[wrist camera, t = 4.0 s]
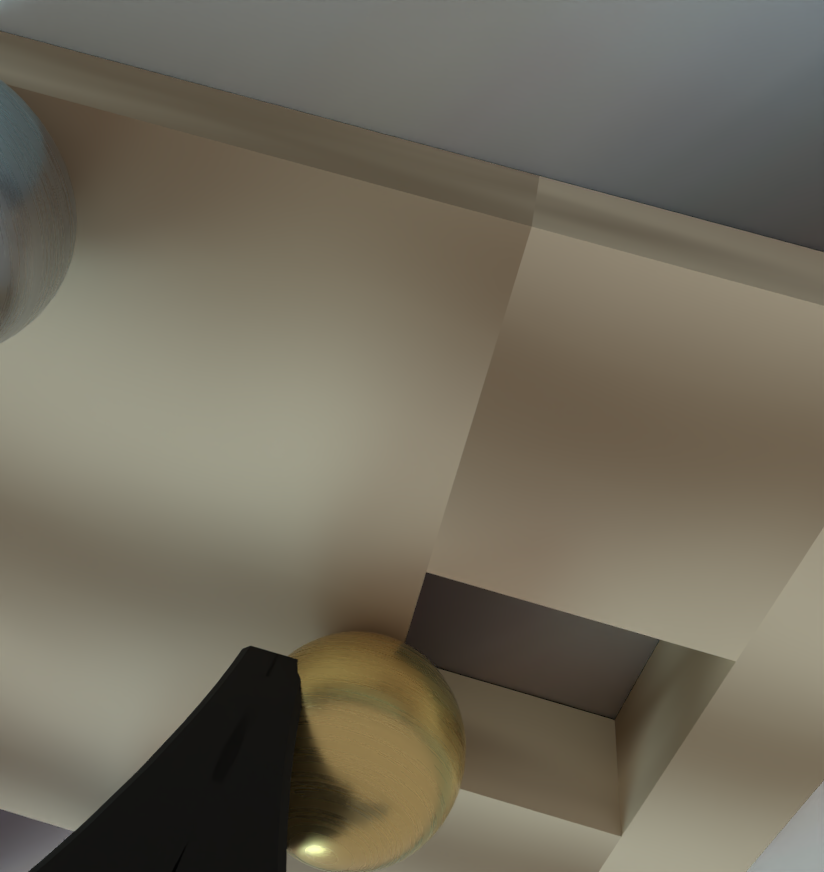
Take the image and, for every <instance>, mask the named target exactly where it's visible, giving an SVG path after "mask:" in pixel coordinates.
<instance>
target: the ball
mask: <svg viewBox="0 0 824 872" xmlns="http://www.w3.org/2000/svg"><path fill="white" fill-rule="evenodd" d="M288 657H292V658H295V659H298V662H297V663H298V674H299V676H300V679H301V703H302V709H301V713H300V718H299V724H298V729H297V736H296V742H295V749H294V756H293V765H292V774H291V787H290V801H289V815H288V832H287V854H289V855H290V856H292V857H294V858H295V859H297V860H299V861H300V862H302V863H304V864H306V865H308V866H311V867H313V868H316V869H319V870H323V871H327V872H373V871H378V870H381V869H384V868H387V867H389V866H392V865H394V864H397V863H399V862H400V861H402V860H404V859H406V858H407V857H409V856H410V855H412V854H414V853H415V852H416V851H417V850H419V849H420V848H421V847H422V846H423V845H424V844H426V843H427V842H428V841H429V840H430V839H431V838H432V836H433V835H434V834H435V833H436V832H437V830H438V829H439V828H440V827H441V826H442V824H443V823H444V821H445V820H446V818H447V816H448V814H449V813H450V811H451V809H452V807H453V805H454V803H455V801H456V798H457V796H458V793H459V790H460V786H461V782H462V778H463V774H464V770H465V760H466V737H465V730H464V725H463V720H462V715H461V712H460V709H459V707H458V704H457V701H456V699H455V696H454V694H453V692H452V690H451V689H450V687H449V685H448V683H447V682H446V680H445V678H444V677H443V676H442V674H441V673H440V672H439V671H438V670H437V668H436V667H435V666H434V665H433V664H432V663H431V662H430V661H429V660H428V659H427V658H426V657H425V656H423V655H422V654H421V653H420V652H418V651H417V650H415V649H414V648H412V647H410V646H409V645H407V644H405V643H403V642H401V641H399V640H397V639H395V638H392V637H389V636H386V635H382V634H378V633H372V632H361V631H348V632H340V633H335V634H331V635H327V636H323V637H320V638H318V639H315V640H313V641H311V642H309V643H307V644H304V645H303V646H301V647H300V648H298V649H296V650H295V651H294V652H292V653H291V654H289V655H288Z"/></svg>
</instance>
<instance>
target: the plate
mask: <svg viewBox="0 0 824 872" xmlns="http://www.w3.org/2000/svg"><path fill="white" fill-rule="evenodd" d="M0 80H2V81H3V82H4V83H5V84H7V85H8V86H9V87H10V88H11V89H12V90H13V91H14V92H16V93H17V94H18V95H19V96H20V97H21V98H22V99H23V100H24V101H25V102H26V104H27V105H28V106H29V107H30V108H31V109H32V111H33V112H34V113H35V114H36V115H37V117H38V118H39V119H40V121H41V122H42V124H43V125H44V126H45V128H46V129H47V131H48V132H49V134H50V135H51V137H52V139H53V140H54V142H55V144H56V146H57V148H58V149H59V151H60V154H61V156H62V158H63V160H64V163H65V165H66V168H67V171H68V174H69V177H70V180H71V184H72V188H73V193H74V198H75V203H76V214H77V229H76V240H75V246H74V251H73V256H72V260H71V263H70V266H69V269H68V271H67V274H66V276H65V278H64V280H63V282H62V284H61V286H60V288H59V290H58V291H57V293H56V295H55V296H54V298H53V299H52V300H51V301H50V303H49V304H48V305H47V306H46V308H45V309H44V310H43V311H42V312H41V314H40V315H39V316H38V317H37V318H36V319H35V320H33V321H32V322H31V323H30V324H29V325H27V326H26V327H25V328H24V329H23V330H21V331H20V332H19V333H18V334H16V335H14V336H12V337H11V338H9V339H7V340H6V341H4V342H2V343H0V809H2V810H5V811H9V812H12V813H15V814H18V815H22V816H25V817H28V818H32V819H35V820H38V821H41V822H45V823H48V824H51V825H55V826H58V827H61V828H64V829H68V830H71V831H75V830H76V829H78V828H79V827H80V826H81V825H82V824H83V823H84V822H85V821H86V820H87V819H88V818H89V817H90V816H91V815H92V814H94V813H95V812H96V811H97V810H98V809H99V808H100V807H101V806H102V805H103V804H104V803H105V802H106V801H107V800H108V799H109V798H110V797H111V796H112V795H113V794H114V793H115V792H116V791H117V790H118V789H119V788H121V787H122V786H123V785H124V784H125V783H126V782H127V781H128V780H129V779H130V778H131V777H132V776H133V775H134V774H135V773H136V772H137V771H138V770H139V769H140V768H141V767H142V766H143V765H144V764H145V763H146V762H147V761H148V759H149V758H150V757H151V756H152V755H153V754H154V753H155V752H156V751H157V750H158V749H159V748H160V747H161V746H162V745H163V743H164V742H165V741H166V740H167V739H168V738H169V737H170V736H171V735H172V734H173V733H174V732H175V731H176V730H177V729H178V727H179V726H180V725H181V724H182V723H183V722H184V721H185V720H186V719H187V717H188V716H189V715H190V714H191V713H192V712H193V711H194V709H195V708H196V707H197V706H198V705H199V704H200V702H201V701H202V700H203V699H204V698H205V697H206V695H207V694H208V693H209V692H210V691H211V689H212V688H213V687H214V686H215V685H216V683H217V682H218V681H219V680H220V678H221V677H222V676H223V674H224V673H225V672H226V670H227V669H228V668H229V667H230V665H231V664H232V663H233V661H234V660H235V658H236V657H237V655H238V654H239V653H240V651H241V650H242V649H243V648H246V647H248V646H254V647H257V648H261V649H264V650H268V651H271V652H274V653H278V654H281V655H285V656H288V655H289V654H291V653H292V652H294V651H295V650H296V649H298V648H300V647H301V646H303V645H304V644H307V643H309V642H311V641H313V640H315V639H318V638H320V637H323V636H327V635H331V634H335V633H340V632H348V631H361V632H372V633H378V634H382V635H386V636H389V637H392V638H395V639H397V640H399V641H401V642H403V643H405V640H406V636H407V633H408V630H409V627H410V623H411V620H412V617H413V614H414V610H415V607H416V604H417V600H418V597H419V594H420V591H421V587H422V584H423V581H424V578H425V574H426V572H428V573H431V574H435V575H438V576H441V577H445V578H448V579H452V580H455V581H459V582H462V583H466V584H469V585H473V586H476V587H480V588H483V589H487V590H490V591H493V592H497V593H500V594H504V595H507V596H511V597H514V598H518V599H521V600H525V601H528V602H532V603H535V604H539V605H542V606H545V607H549V608H552V609H556V610H559V611H563V612H566V613H570V614H573V615H577V616H580V617H584V618H587V619H591V620H594V621H598V622H601V623H604V624H608V625H611V626H615V627H618V628H622V629H625V630H629V631H632V632H636V633H639V634H643V635H646V636H650V637H653V638H656V639H660V640H659V642H658V644H657V646H656V647H655V649H654V651H653V653H652V655H651V656H650V658H649V660H648V662H647V663H646V665H645V667H644V669H643V671H642V672H641V674H640V676H639V678H638V680H637V681H636V683H635V685H634V687H633V688H632V690H631V692H630V694H629V696H628V697H627V699H626V701H625V703H624V704H623V706H622V708H621V710H620V712H619V713H618V715H617V717H616V719H615V720H613V719H609V718H606V717H602V716H599V715H595V714H592V713H589V712H585V711H582V710H578V709H575V708H572V707H568V706H565V705H561V704H558V703H554V702H551V701H548V700H544V699H541V698H537V697H534V696H530V695H527V694H524V693H520V692H517V691H513V690H510V689H507V688H503V687H500V686H496V685H493V684H489V683H486V682H483V681H479V680H476V679H472V678H469V677H466V676H462V675H459V674H455V673H452V672H448V671H445V670H442V669H438V668H437V670H438V671H439V672H440V673H441V674H442V676H443V677H444V678H445V680H446V682H447V683H448V685H449V687H450V689H451V690H452V692H453V694H454V696H455V699H456V701H457V704H458V707H459V709H460V712H461V715H462V720H463V725H464V730H465V737H466V760H465V770H464V774H463V778H462V782H461V786H460V790H459V793H458V796H457V798H456V801H455V803H454V805H453V807H452V809H451V811H450V813H449V814H448V816H447V818H446V820H445V821H444V823H443V824H442V826H441V827H440V828H439V829H438V830H437V832H436V833H435V834H434V835H433V836H432V838H431V839H430V840H429V841H428V842H427V843H426V844H424V845H423V846H422V847H421V848H420V849H419V850H417V851H416V852H415V853H414V854H412V855H410V856H409V857H407V858H406V859H404V860H402V861H400V862H399V863H397V864H394V865H392V866H389V867H387V868H384V869H381V870H378V871H373V872H746V871H747V870H748V869H749V868H750V867H751V865H752V864H753V863H754V862H755V861H756V860H757V858H758V857H759V856H760V855H761V854H762V853H763V851H764V850H765V849H766V848H767V847H768V845H769V844H770V843H771V842H772V841H773V840H774V838H775V837H776V836H777V835H778V834H779V832H780V831H781V830H782V829H783V828H784V827H785V825H786V824H787V823H788V822H789V821H790V819H791V818H792V817H793V816H794V815H795V814H796V812H797V811H798V810H799V809H800V808H801V806H802V805H803V804H804V803H805V802H806V801H807V799H808V798H809V797H810V796H811V795H812V793H813V792H814V791H815V790H816V789H817V788H818V786H819V785H820V784H821V783H822V782H823V780H824V252H821V251H817V250H814V249H810V248H806V247H802V246H799V245H795V244H791V243H787V242H784V241H780V240H776V239H773V238H769V237H765V236H761V235H758V234H754V233H750V232H747V231H743V230H739V229H735V228H732V227H728V226H724V225H720V224H717V223H713V222H709V221H706V220H702V219H698V218H694V217H691V216H687V215H683V214H680V213H676V212H672V211H668V210H665V209H661V208H657V207H654V206H650V205H646V204H642V203H639V202H635V201H631V200H627V199H624V198H620V197H616V196H613V195H609V194H605V193H601V192H598V191H594V190H590V189H587V188H583V187H579V186H575V185H572V184H568V183H564V182H560V181H557V180H553V179H549V178H546V177H542V176H538V175H534V174H531V173H527V172H523V171H520V170H516V169H512V168H508V167H505V166H501V165H497V164H493V163H490V162H486V161H482V160H479V159H475V158H471V157H467V156H464V155H460V154H456V153H453V152H449V151H445V150H441V149H438V148H434V147H430V146H426V145H423V144H419V143H415V142H412V141H408V140H404V139H400V138H397V137H393V136H389V135H386V134H382V133H378V132H374V131H371V130H367V129H363V128H359V127H356V126H352V125H348V124H345V123H341V122H337V121H333V120H330V119H326V118H322V117H319V116H315V115H311V114H307V113H304V112H300V111H296V110H292V109H289V108H285V107H281V106H278V105H274V104H270V103H266V102H263V101H259V100H255V99H252V98H248V97H244V96H240V95H237V94H233V93H229V92H225V91H222V90H218V89H214V88H211V87H207V86H203V85H199V84H196V83H192V82H188V81H185V80H181V79H177V78H173V77H170V76H166V75H162V74H158V73H155V72H151V71H147V70H144V69H140V68H136V67H132V66H129V65H125V64H121V63H118V62H114V61H110V60H106V59H103V58H99V57H95V56H91V55H88V54H84V53H80V52H77V51H73V50H69V49H65V48H62V47H58V46H54V45H51V44H47V43H43V42H39V41H36V40H32V39H28V38H25V37H21V36H17V35H13V34H10V33H6V32H2V31H0ZM286 872H327V871H323V870H319V869H316V868H313V867H311V866H308V865H306V864H304V863H302V862H300V861H299V860H297V859H295V858H294V857H292V856H290V855H289V854H287V863H286Z"/></svg>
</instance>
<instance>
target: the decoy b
mask: <svg viewBox="0 0 824 872" xmlns="http://www.w3.org/2000/svg"><path fill="white" fill-rule="evenodd" d="M76 229H77V214H76V203H75V198H74V193H73V188H72V184H71V180H70V177H69V174H68V171H67V168H66V165H65V163H64V160H63V158H62V156H61V154H60V151H59V149H58V148H57V146H56V144H55V142H54V140H53V139H52V137H51V135H50V134H49V132H48V131H47V129H46V128H45V126H44V125H43V124H42V122H41V121H40V119H39V118H38V117H37V115H36V114H35V113H34V112H33V111H32V109H31V108H30V107H29V106H28V105H27V104H26V102H25V101H24V100H23V99H22V98H21V97H20V96H19V95H18V94H17V93H16V92H14V91H13V90H12V89H11V88H10V87H9V86H8V85H7V84H5V83H4V82H3V81H2V80H0V343H2V342H4V341H6V340H7V339H9V338H11V337H12V336H14V335H16V334H18V333H19V332H20V331H21V330H23V329H24V328H25V327H26V326H27V325H29V324H30V323H31V322H32V321H33V320H35V319H36V318H37V317H38V316H39V315H40V314H41V312H42V311H43V310H44V309H45V308H46V306H47V305H48V304H49V303H50V301H51V300H52V299H53V298H54V296H55V295H56V293H57V291H58V290H59V288H60V286H61V284H62V282H63V280H64V278H65V276H66V274H67V271H68V269H69V266H70V263H71V260H72V256H73V251H74V246H75V240H76Z"/></svg>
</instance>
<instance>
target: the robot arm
mask: <svg viewBox="0 0 824 872" xmlns="http://www.w3.org/2000/svg"><path fill="white" fill-rule="evenodd" d="M297 662H298V659H295V658H292V657H288V656H285V655H281V654H278V653H274V652H271V651H268V650H264V649H261V648H257V647H254V646H248V647H246V648H243V649H242V650H241V651H240V653H239V654H238V655H237V657H236V658H235V660H234V661H233V663H232V664H231V665H230V667H229V668H228V669H227V670H226V672H225V673H224V674H223V676H222V677H221V678H220V680H219V681H218V682H217V683H216V685H215V686H214V687H213V688H212V689H211V691H210V692H209V693H208V694H207V695H206V697H205V698H204V699H203V700H202V701H201V702H200V704H199V705H198V706H197V707H196V708H195V709H194V711H193V712H192V713H191V714H190V715H189V716H188V717H187V719H186V720H185V721H184V722H183V723H182V724H181V725H180V726H179V727H178V729H177V730H176V731H175V732H174V733H173V734H172V735H171V736H170V737H169V738H168V739H167V740H166V741H165V742H164V743H163V745H162V746H161V747H160V748H159V749H158V750H157V751H156V752H155V753H154V754H153V755H152V756H151V757H150V758H149V759H148V761H147V762H146V763H145V764H144V765H143V766H142V767H141V768H140V769H139V770H138V771H137V772H136V773H135V774H134V775H133V776H132V777H131V778H130V779H129V780H128V781H127V782H126V783H125V784H124V785H123V786H122V787H121V788H119V789H118V790H117V791H116V792H115V793H114V794H113V795H112V796H111V797H110V798H109V799H108V800H107V801H106V802H105V803H104V804H103V805H102V806H101V807H100V808H99V809H98V810H97V811H96V812H95V813H94V814H92V815H91V816H90V817H89V818H88V819H87V820H86V821H85V822H84V823H83V824H82V825H81V826H80V827H79V828H78V829H76V830H75V831H74V832H73V833H72V834H71V835H70V836H69V837H68V838H67V839H65V840H64V841H63V842H62V843H61V844H60V845H59V846H58V847H56V848H55V849H54V850H53V851H52V852H51V853H50V854H48V855H47V856H46V857H45V858H44V859H43V860H42V861H40V862H39V863H38V864H37V865H36V866H35V867H33V868H32V869H31V870H30V871H29V872H286V863H287V832H288V815H289V801H290V787H291V774H292V765H293V756H294V749H295V742H296V736H297V729H298V724H299V718H300V713H301V709H302V703H301V679H300V676H299V674H298V663H297Z"/></svg>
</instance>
